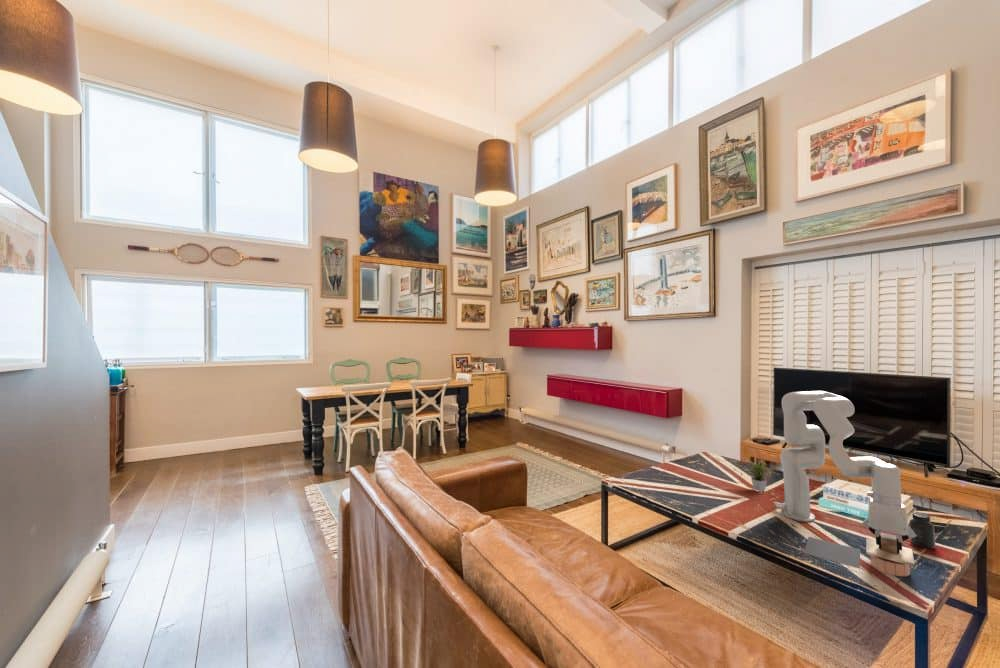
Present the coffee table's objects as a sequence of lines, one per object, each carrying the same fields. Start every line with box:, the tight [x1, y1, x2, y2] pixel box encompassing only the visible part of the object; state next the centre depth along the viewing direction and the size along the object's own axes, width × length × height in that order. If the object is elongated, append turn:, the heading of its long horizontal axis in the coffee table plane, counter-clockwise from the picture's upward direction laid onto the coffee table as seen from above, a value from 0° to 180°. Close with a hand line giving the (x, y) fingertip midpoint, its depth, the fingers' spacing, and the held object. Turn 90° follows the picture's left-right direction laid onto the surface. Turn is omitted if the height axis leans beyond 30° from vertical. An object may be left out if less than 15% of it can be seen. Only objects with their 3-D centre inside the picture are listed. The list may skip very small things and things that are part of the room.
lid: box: [865, 532, 915, 567], centre depth 142 cm, size 12×12×6 cm
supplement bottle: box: [908, 511, 936, 550], centre depth 157 cm, size 7×7×12 cm
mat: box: [803, 536, 861, 569], centre depth 154 cm, size 16×16×1 cm
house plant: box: [744, 458, 773, 491], centre depth 217 cm, size 14×14×16 cm
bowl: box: [870, 555, 911, 577], centre depth 142 cm, size 10×10×5 cm
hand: (888, 548), depth 142 cm, fingers closed on lid, 4 cm apart
